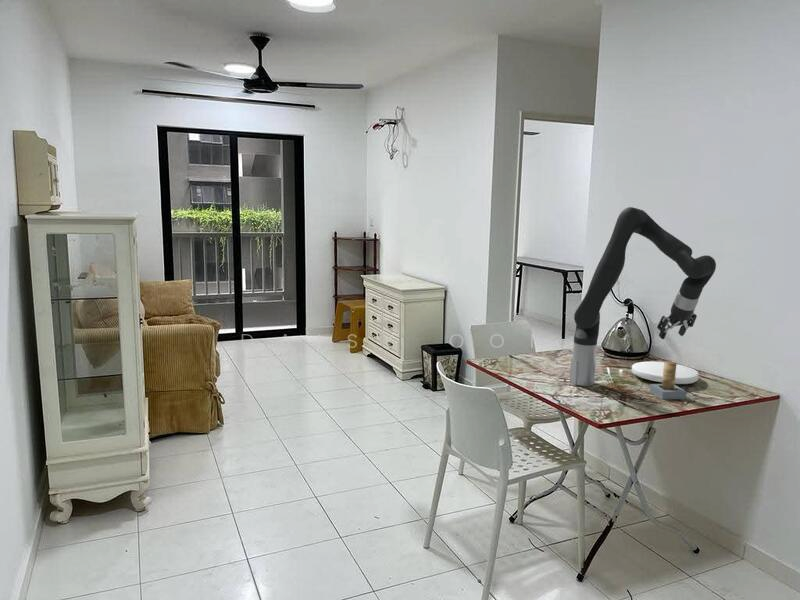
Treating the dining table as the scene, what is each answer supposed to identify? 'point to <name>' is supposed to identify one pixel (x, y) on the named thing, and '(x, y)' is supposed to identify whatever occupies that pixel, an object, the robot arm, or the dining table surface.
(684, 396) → the socket block
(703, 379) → the dining table surface
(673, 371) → the dowel
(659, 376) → the plate
